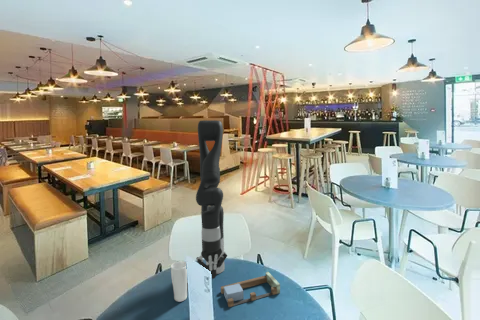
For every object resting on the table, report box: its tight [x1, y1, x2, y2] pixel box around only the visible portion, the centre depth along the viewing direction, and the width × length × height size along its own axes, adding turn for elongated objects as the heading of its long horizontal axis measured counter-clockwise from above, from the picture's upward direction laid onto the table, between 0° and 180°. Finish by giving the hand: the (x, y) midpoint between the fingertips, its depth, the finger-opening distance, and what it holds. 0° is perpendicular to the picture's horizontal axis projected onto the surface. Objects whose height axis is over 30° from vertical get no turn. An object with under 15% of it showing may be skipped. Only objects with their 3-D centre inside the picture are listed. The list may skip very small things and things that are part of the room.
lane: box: [220, 271, 281, 308], centre depth 115 cm, size 11×24×4 cm, turn 112°
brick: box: [223, 284, 245, 304], centre depth 113 cm, size 6×7×4 cm
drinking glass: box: [170, 260, 188, 303], centre depth 112 cm, size 7×7×15 cm
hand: (212, 277), depth 108 cm, fingers closed
